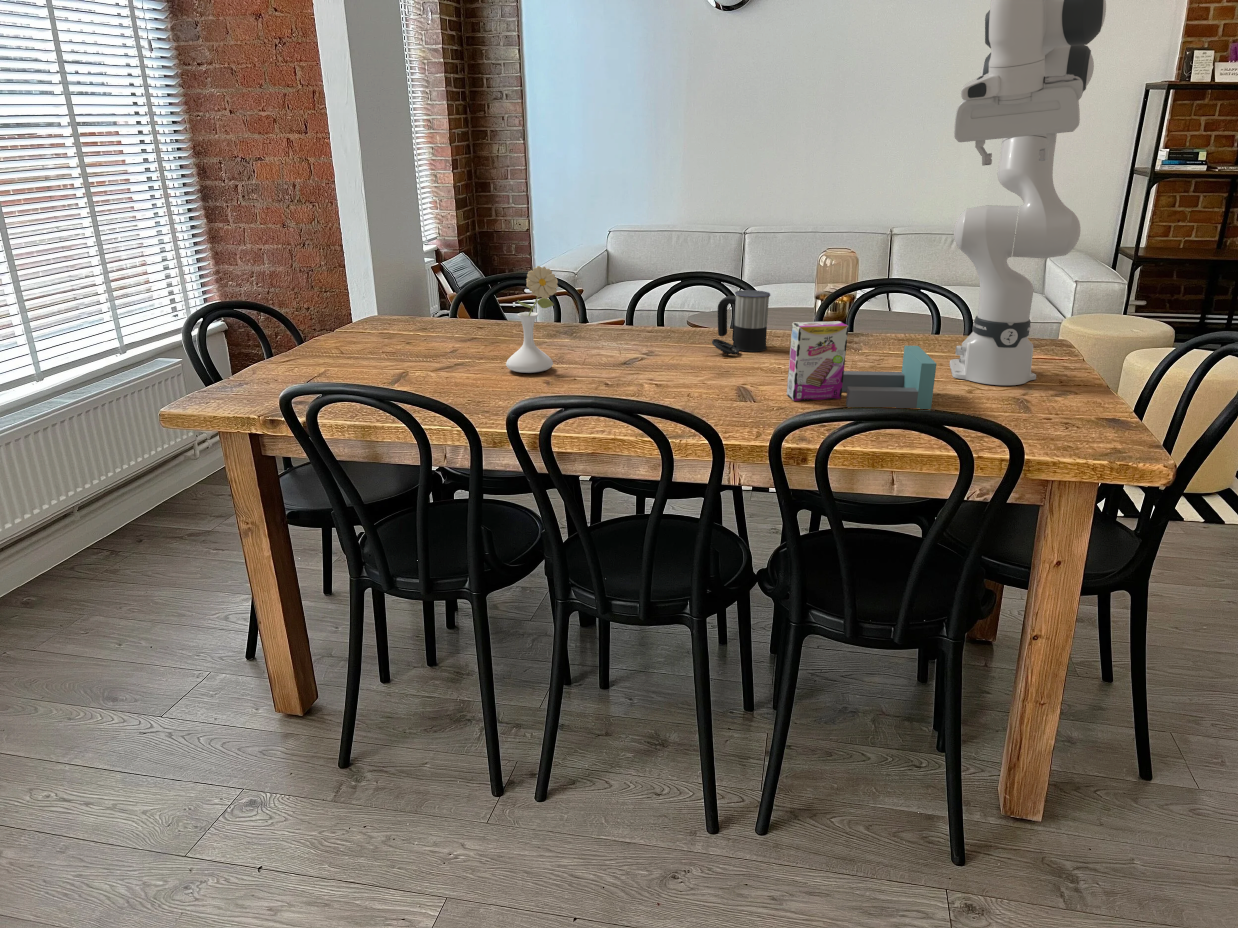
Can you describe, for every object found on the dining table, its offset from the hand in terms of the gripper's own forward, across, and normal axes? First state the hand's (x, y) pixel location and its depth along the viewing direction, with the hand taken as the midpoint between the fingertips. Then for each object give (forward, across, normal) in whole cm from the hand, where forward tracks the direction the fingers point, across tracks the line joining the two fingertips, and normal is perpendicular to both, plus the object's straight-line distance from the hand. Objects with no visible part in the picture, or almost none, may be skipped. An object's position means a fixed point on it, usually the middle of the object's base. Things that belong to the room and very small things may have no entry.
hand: (1015, 162), depth 164 cm
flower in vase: (+37, +106, +14) cm, 113 cm away
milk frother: (+50, +70, -28) cm, 90 cm away
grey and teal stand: (+48, +27, 0) cm, 55 cm away
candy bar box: (+46, +39, +5) cm, 61 cm away
